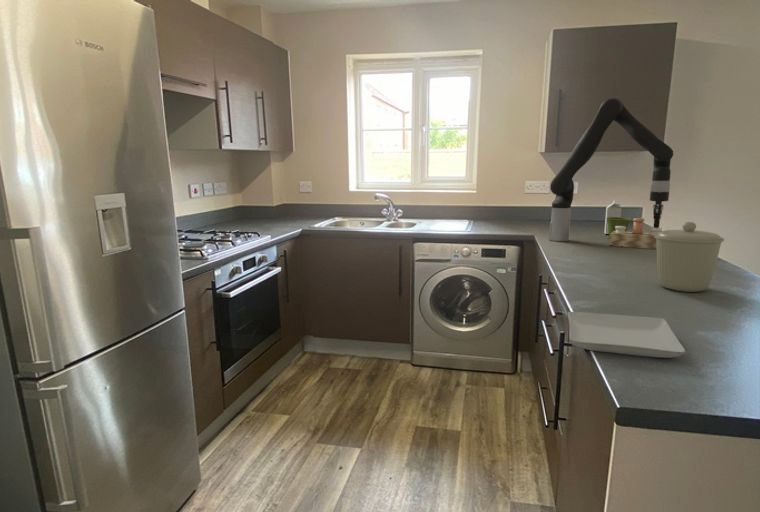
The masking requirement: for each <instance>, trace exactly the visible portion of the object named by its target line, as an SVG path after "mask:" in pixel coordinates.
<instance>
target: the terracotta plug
mask: <svg viewBox="0 0 760 512" xmlns="http://www.w3.org/2000/svg"><path fill="white" fill-rule="evenodd" d="M632 222H633V225H632V232H633V234H639V235H642V233H643V230H644V222H645V218H642V217H641V218H639V217H635V218H633V219H632Z"/></svg>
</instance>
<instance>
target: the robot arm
mask: <svg viewBox="0 0 760 512" xmlns="http://www.w3.org/2000/svg"><path fill="white" fill-rule="evenodd" d="M612 122H615V123H617V124H618V125H620V126H621V127H622V128H623V130H625V131H626V133H628V135H629V137H631V138H632V139H633V140H634V141H635V142H636V143H637V144H638V145H639V146H640V147H641V148H642V149H643V150H645V151H647V152H648V153H650V154H651V155H652V156H653V169H652V170H653V171H652V177H651V178H652V179H651V185H650V193H649V201H650V202H655V204H653V206H652V209H653V212H652V215H653V228H660V224H661V223H660V222H661V221H660V220H661V219H662V215H663V209H664V204H663V202H668V201H669V197H670V186H671V183H670V182H671V174H672V172H671V169H670V168H671V161H672V158H673V157H674V150H673V149H672V147H670V146H669V145H668V144H666V143H665V142H664V141H662V140H661V139H659V137H658V136H656V135H655V134H654V133H653V132H652V131H651V130H650V129H649V128H647V127H646V126H645V125H644V124H643V123H641V121H639V120H638V119H637V118H635V117H634V116H633V114H631V112H630V111H629V110H628V109H627V107H626V106H625V105H624V104H623V102H622V100H620V99H619V98H617V97H611V98H607V99H605V100H604V101H603V102H601V104H600V107H599V109H598V111H597V113H596V114H595V116H594V117H593V120H592V122H591V123H590V124H589V127H588V128H587V129H586V130H585V131H584V133H583V134H582V136H580V139H579V140H578V142H577V143H576V145H574V147H573V149H572V151H571V153H570V154H569V156H568V158H567V159H566V161H565V163H564V164H563V166H562V168H560V170H559V171H558V172H557V174H556V175H555V177H554V178H553V179H552V180H551V182H550V192H551V193H552V194H553V195H555V198H554V200H553V201H552V203H551V215H550V217H551V219H550V220H551V221H550V222H549V233H548V241H553V242H568V240H570V226H571V225H570V224H571V209H572V203H573V200H574V191H575V183H574V180H573V179H574V176H575V175H576V173H578V171H579V170H580V169H581V168H583V167H584V166H585V165H586V164H587V163H588V162H589V161H590V159H591V158H592V157H593V155H594V154H595V152H596V151H597V149H598V147H599V145H600V143H601V142H602V139H603V137H604V135H605V133H606V131H607V129H608V128H609V127H610V125H611V124H612Z"/></svg>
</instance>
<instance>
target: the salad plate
mask: <svg viewBox="0 0 760 512" xmlns="http://www.w3.org/2000/svg"><path fill="white" fill-rule="evenodd" d="M567 318H568V319H567V320H568V325H569V331H568V332H569V333H568V334H569V337H568V338H569V341H570V342H571V344H572V345H574V346H575V347H577V348H579V349H583V350H588V351H593V352H604V353H610V354H611V353H612V354H619V355H628V356H638V357H646V358H647V357H649V358H650V357H651V358H663V359H664V358H666V359H667V358H669V359H670V358H676V357H680V356H682V355H684V354H686V350H685V347H684V346H683V345H682V343H681V342H680V341H679V339H678V338H677V336H676V335H675V333H674V331H673V330H672V329H671V327H670V325H669V324H668V322H667V321H666V319H664V318H662V317H650V316H649V317H647V316H637V315H627V314H625V315H624V314H612V313H597V312H583V311H568V312H567Z"/></svg>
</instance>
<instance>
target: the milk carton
mask: <svg viewBox="0 0 760 512" xmlns="http://www.w3.org/2000/svg"><path fill="white" fill-rule="evenodd" d="M620 206H621V204H620V203H619V202H617V203H616V201H615V200H613V202H612V203H610V204H609V205H608V206H606V208H605V219H604V220H605V221H604V233H605V234H609V233H608V223H607V219H606V218H607V217H622V208H621V207H620ZM605 234H604V235H605Z"/></svg>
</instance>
